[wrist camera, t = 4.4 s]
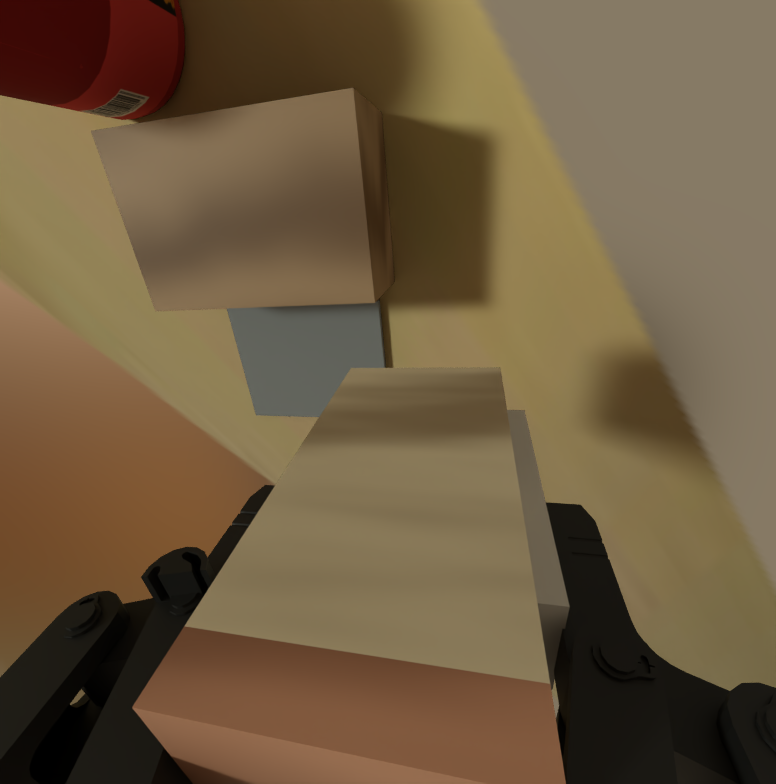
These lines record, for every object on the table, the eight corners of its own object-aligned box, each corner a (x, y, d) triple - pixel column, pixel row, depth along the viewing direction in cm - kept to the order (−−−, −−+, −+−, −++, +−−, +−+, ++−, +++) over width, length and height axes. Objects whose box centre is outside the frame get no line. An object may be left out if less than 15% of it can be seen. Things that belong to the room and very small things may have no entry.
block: (350, 368, 13) (131, 707, 5) (500, 367, 12) (568, 800, 4) (367, 479, 16) (240, 843, 7) (494, 486, 15) (527, 924, 6)
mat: (230, 305, 25) (226, 307, 25) (379, 299, 23) (377, 301, 22) (258, 412, 28) (256, 415, 28) (390, 416, 26) (389, 419, 26)
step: (170, 144, 21) (90, 130, 17) (381, 112, 19) (353, 87, 14) (212, 290, 25) (155, 311, 20) (394, 281, 22) (374, 302, 18)
